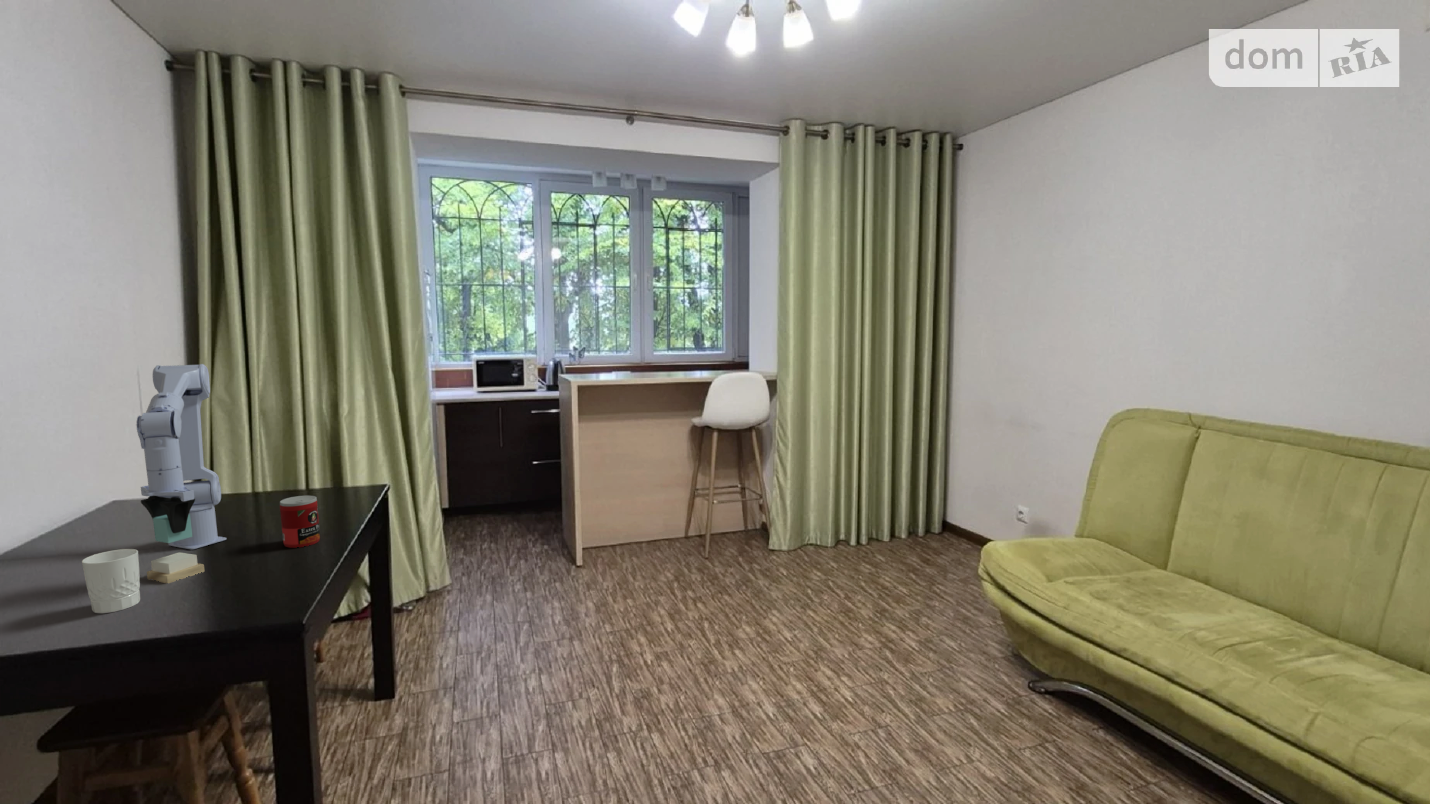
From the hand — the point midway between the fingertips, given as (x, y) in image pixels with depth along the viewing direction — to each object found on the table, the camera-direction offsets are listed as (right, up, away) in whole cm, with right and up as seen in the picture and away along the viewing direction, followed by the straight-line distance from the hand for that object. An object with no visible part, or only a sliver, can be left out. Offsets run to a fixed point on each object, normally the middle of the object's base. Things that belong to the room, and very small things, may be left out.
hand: (171, 530), depth 139 cm
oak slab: (0, -10, +1) cm, 11 cm away
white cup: (+1, -12, -14) cm, 19 cm away
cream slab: (0, -8, +1) cm, 8 cm away
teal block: (0, -2, +1) cm, 2 cm away
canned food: (+15, -7, +21) cm, 27 cm away
